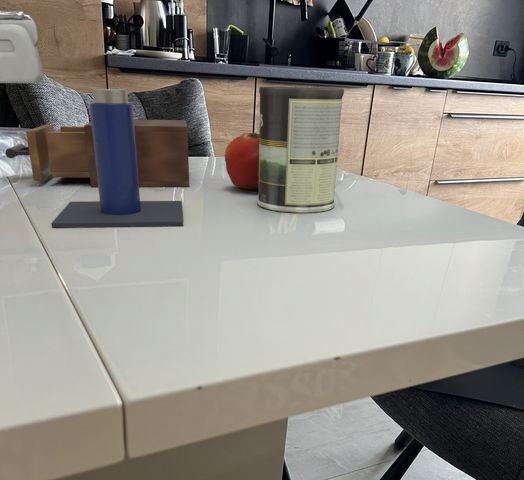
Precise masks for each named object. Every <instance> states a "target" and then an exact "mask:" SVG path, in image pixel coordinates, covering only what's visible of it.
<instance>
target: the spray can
mask: <svg viewBox="0 0 524 480" xmlns="http://www.w3.org/2000/svg"><path fill="white" fill-rule="evenodd" d="M92 96H93V102H90V103H89V104H88V105H89V115H90V122H91V124H92V133H93V143H94V152H95V161H96V170H97V180H98V187H97V188H98V198H99V201H100V207H101V212H102V213H105V214H112V215H125V214H133V213H137V212H139V211H141V206H140V201H141V196H140V187H139V180H138V167H137V154H136V141H135V128H134V120H135V118H134V117H135V115H134V104H133V103H129V99H128V98H129V97H128V89H120V88H119V89H117V88H116V89H115V88H92Z"/></svg>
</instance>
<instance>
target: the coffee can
mask: <svg viewBox="0 0 524 480" xmlns="http://www.w3.org/2000/svg"><path fill="white" fill-rule="evenodd" d="M258 93H259V126H258V127H259V129H258V130H259V131H258V134H259V189H258V197H257V198H258V199H257V205H258V206H259V207H260V208H263V209H266V210H269V211H275V212H280V213H291V214H292V213H295V214H297V213H298V214H304V213H305V214H307V213H308V214H309V213H310V214H311V213H320V212H326V211H330V210H332V209H334V208H335V196H336V195H335V194H336V180H337V169H338V158H339V157H338V156H339V145H340V144H339V143H340V129H341V117H342V106H343V96H344V95H345V89H344V88H339V87H309V86H308V87H307V86H306V87H305V86H259V87H258Z"/></svg>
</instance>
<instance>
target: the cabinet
mask: <svg viewBox="0 0 524 480" xmlns="http://www.w3.org/2000/svg"><path fill="white" fill-rule="evenodd" d="M83 127H84V129H85V137H86V146H87V155H88V164H89V173H90V177H89V180H90V181H89V182H90V187H91V188H98V180H97V170H96V161H95V152H94V143H93V133H92V124H91V121H90V122H87V123H86V124H84V125H83ZM134 128H135V141H136V154H137V167H138V180H139V188H189V187H190V166H189V165H190V164H189V137H188V136H189V135H188V124H187V121H186V120H185V119H180V120H179V119H134Z"/></svg>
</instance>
